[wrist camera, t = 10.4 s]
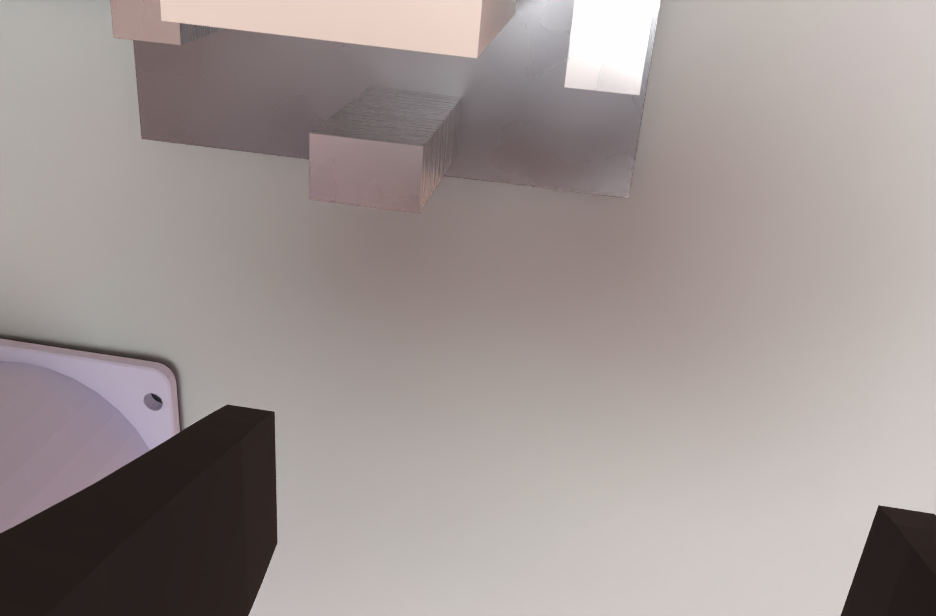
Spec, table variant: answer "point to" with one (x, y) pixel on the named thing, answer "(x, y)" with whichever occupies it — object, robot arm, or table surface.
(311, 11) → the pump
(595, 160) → the grey peg tray
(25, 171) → the table surface
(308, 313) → the table surface
